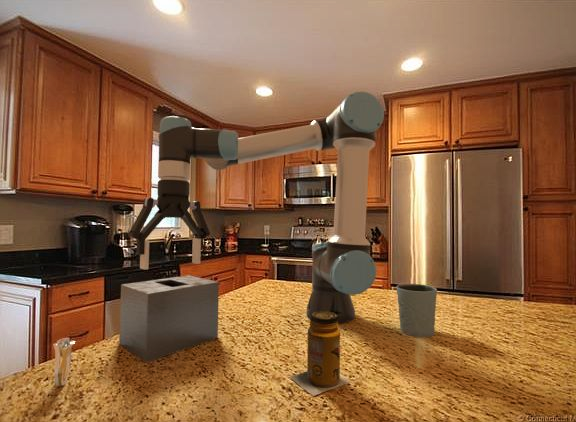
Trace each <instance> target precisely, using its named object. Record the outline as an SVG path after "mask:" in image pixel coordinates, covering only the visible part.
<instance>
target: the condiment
mask: <svg viewBox="0 0 576 422" xmlns="http://www.w3.org/2000/svg"><path fill="white" fill-rule="evenodd" d="M309 320H310V321H309V327H308V328H307V360H306V361H307V367H306V368H307V369H306V371H303V372H300V373H297V374H292V375H290V376H289V378H290V379H291V380H292V381H293V382H294V383H296V384H297V385H298V386H300V387H301V389H303V390H305V391H306V392H307V393H309V394H310V395H311V396H313V397H315V396H317V395H320V394H321V393H325V392H327V391H331V390H334V389H336V388H339V387H342V386H344V385H347V384H349V383H350V381H349V380H347V379H346V378H344V377H342V376H340V374H341V373H340V372H341V370H340V369H341V366H340V365H341V359H340V356H341V352H340V351H341V331H340V329H339V323H338V316H337V315H336V314H334V313H332V312H324V311H319V312H314V313H312V314H311V316H310V318H309Z"/></svg>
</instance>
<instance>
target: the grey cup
mask: <svg viewBox="0 0 576 422" xmlns="http://www.w3.org/2000/svg"><path fill="white" fill-rule="evenodd" d="M437 293H438V289H437V288H436V287H435V286H432V285H426V284H419V283H401V284H397V285H396V295H397V303H398V314H399V324H400V325H399V326H400V327H399V328H400V329H399V330H400V331H401V332H402V333H403V334H406V335H409V336H412V337H416V338H430V337H433V336H434V335H435V330H436V329H435V324H436V308H437V306H436V305H437V295H438V294H437Z"/></svg>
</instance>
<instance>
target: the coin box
mask: <svg viewBox="0 0 576 422" xmlns="http://www.w3.org/2000/svg"><path fill="white" fill-rule="evenodd" d="M219 285H220V282H219V281H215V280H212V279H208V278H203V277H197V276H193V275H188V274H187V275H183V276H174V277H168V278H161V279H151V280H146V281H145V280H144V281H139V282H137V281H136V282H131V283H122V284H120V304H119V305H120V307H119V311H120V312H119V313H120V314H119V336H118V337H119V338H118V339H119V340H118V344H119V345H120V346H121V347H123V348H124V349H126V350H128V352H130V353H131V354H133V355H134V356H136V357H138V358H139V359H140V360H142V361H144V362H145V363H147V362H151V361H153V360H156V359H159V358H162V357H167V356H169V355H172V354H174V353H178V352H180V351H183V349H184V350H186V349H189V348H192V347H196V346H199V345H200V344H201V345H202V344H204V343H207V342H211V341H213V340H216V339H219V301H220V298H219V295H220V294H219V293H220V292H219V291H220V289H219V288H220V286H219Z"/></svg>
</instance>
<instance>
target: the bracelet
mask: <svg viewBox="0 0 576 422" xmlns="http://www.w3.org/2000/svg"><path fill="white" fill-rule="evenodd" d="M75 342H76V341H75V340H70V337H63V338H60V339H58V340H57V341H56V343H53V348H54V357H55V358H54V384H55V385H56V387H62V386H65V385H67V380H68V377H69V373H70V368H71V360H72V347H73V346H74V344H75ZM61 355H62V361H61Z"/></svg>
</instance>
